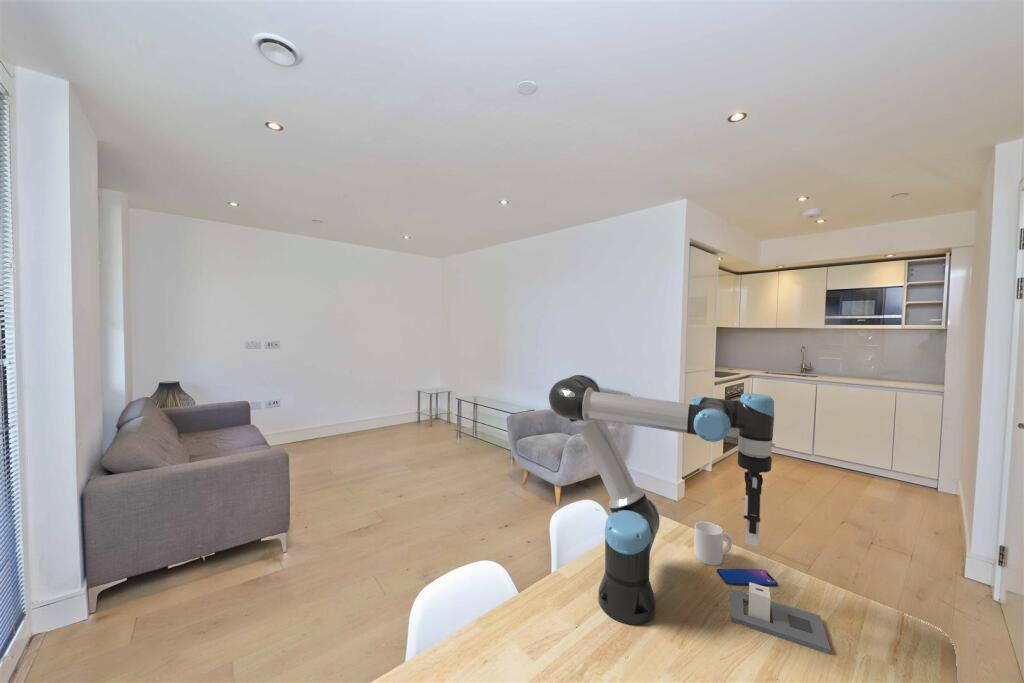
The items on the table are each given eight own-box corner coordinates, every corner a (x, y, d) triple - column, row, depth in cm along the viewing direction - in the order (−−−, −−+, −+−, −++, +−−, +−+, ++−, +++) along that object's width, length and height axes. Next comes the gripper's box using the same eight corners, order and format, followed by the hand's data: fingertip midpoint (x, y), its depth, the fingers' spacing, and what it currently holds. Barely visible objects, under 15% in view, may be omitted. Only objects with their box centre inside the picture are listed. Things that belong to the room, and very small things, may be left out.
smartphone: (715, 568, 120) (764, 569, 119) (715, 571, 120) (764, 571, 119) (727, 584, 113) (779, 585, 112) (727, 587, 113) (779, 587, 112)
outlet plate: (731, 621, 99) (731, 616, 99) (731, 593, 109) (731, 588, 109) (830, 654, 89) (830, 649, 89) (819, 619, 99) (820, 615, 99)
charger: (748, 617, 100) (749, 591, 100) (748, 607, 104) (749, 581, 104) (769, 624, 98) (770, 597, 97) (768, 613, 102) (769, 587, 101)
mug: (724, 550, 130) (725, 521, 129) (739, 566, 121) (740, 534, 121) (689, 551, 130) (689, 521, 129) (702, 566, 121) (702, 534, 121)
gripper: (776, 471, 88) (771, 561, 89) (768, 443, 109) (764, 515, 111) (738, 465, 92) (734, 550, 93) (737, 438, 113) (734, 508, 114)
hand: (750, 531), depth 102 cm, fingers open, 13 cm apart
